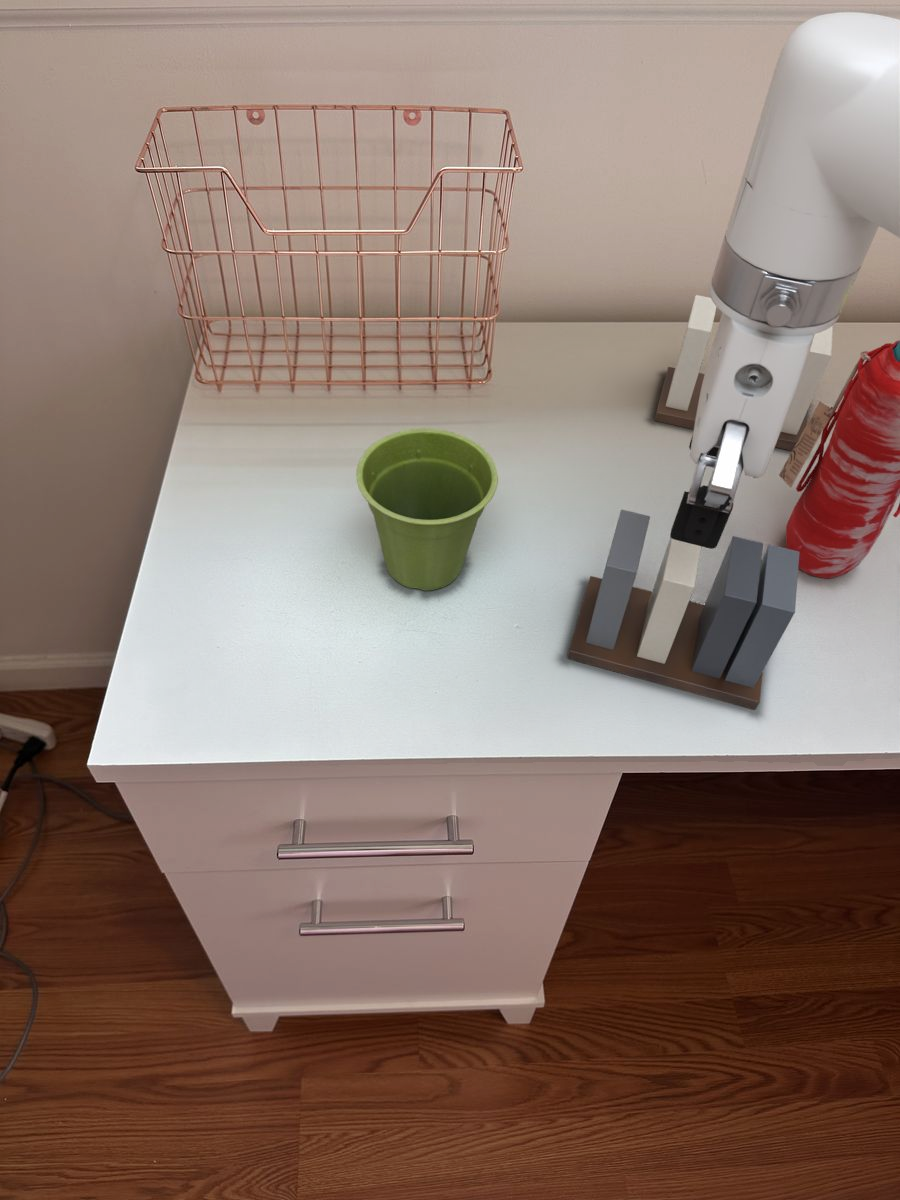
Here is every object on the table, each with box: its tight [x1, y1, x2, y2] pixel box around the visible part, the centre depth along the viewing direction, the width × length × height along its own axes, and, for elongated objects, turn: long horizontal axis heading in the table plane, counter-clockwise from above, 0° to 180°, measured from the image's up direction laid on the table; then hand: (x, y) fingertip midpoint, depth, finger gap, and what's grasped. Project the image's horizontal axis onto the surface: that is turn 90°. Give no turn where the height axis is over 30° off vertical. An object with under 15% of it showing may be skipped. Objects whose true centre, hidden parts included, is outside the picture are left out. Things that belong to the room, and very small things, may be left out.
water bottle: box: [778, 339, 900, 579], centre depth 73 cm, size 12×8×25 cm, turn 33°
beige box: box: [637, 535, 702, 664], centre depth 70 cm, size 2×6×10 cm, turn 162°
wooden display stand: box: [653, 294, 834, 452], centre depth 92 cm, size 16×9×11 cm, turn 72°
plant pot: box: [355, 427, 499, 591], centre depth 76 cm, size 12×12×11 cm
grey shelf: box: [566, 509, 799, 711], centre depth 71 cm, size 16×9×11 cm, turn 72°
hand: (701, 494), depth 62 cm, fingers open, 9 cm apart
